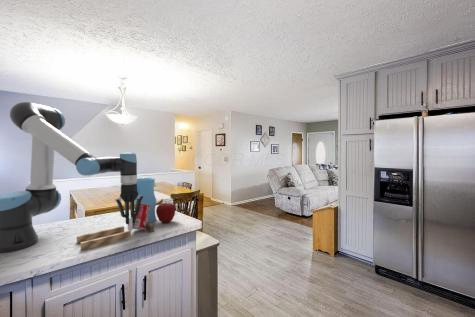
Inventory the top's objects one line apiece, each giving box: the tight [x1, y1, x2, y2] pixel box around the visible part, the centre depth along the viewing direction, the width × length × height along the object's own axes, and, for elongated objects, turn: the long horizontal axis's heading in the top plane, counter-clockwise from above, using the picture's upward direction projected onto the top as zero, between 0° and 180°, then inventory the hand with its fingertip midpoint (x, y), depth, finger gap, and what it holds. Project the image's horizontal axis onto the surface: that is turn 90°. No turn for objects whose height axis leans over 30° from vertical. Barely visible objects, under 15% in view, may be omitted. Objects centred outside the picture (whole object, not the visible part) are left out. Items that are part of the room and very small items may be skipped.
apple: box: [155, 202, 176, 224], centre depth 132 cm, size 11×11×12 cm
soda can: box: [132, 203, 150, 231], centre depth 119 cm, size 7×7×13 cm
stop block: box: [144, 222, 156, 233], centre depth 120 cm, size 2×12×3 cm, turn 43°
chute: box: [76, 225, 132, 251], centre depth 106 cm, size 20×12×3 cm, turn 133°
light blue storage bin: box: [134, 177, 157, 223], centre depth 136 cm, size 10×10×25 cm
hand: (130, 229), depth 114 cm, fingers closed
